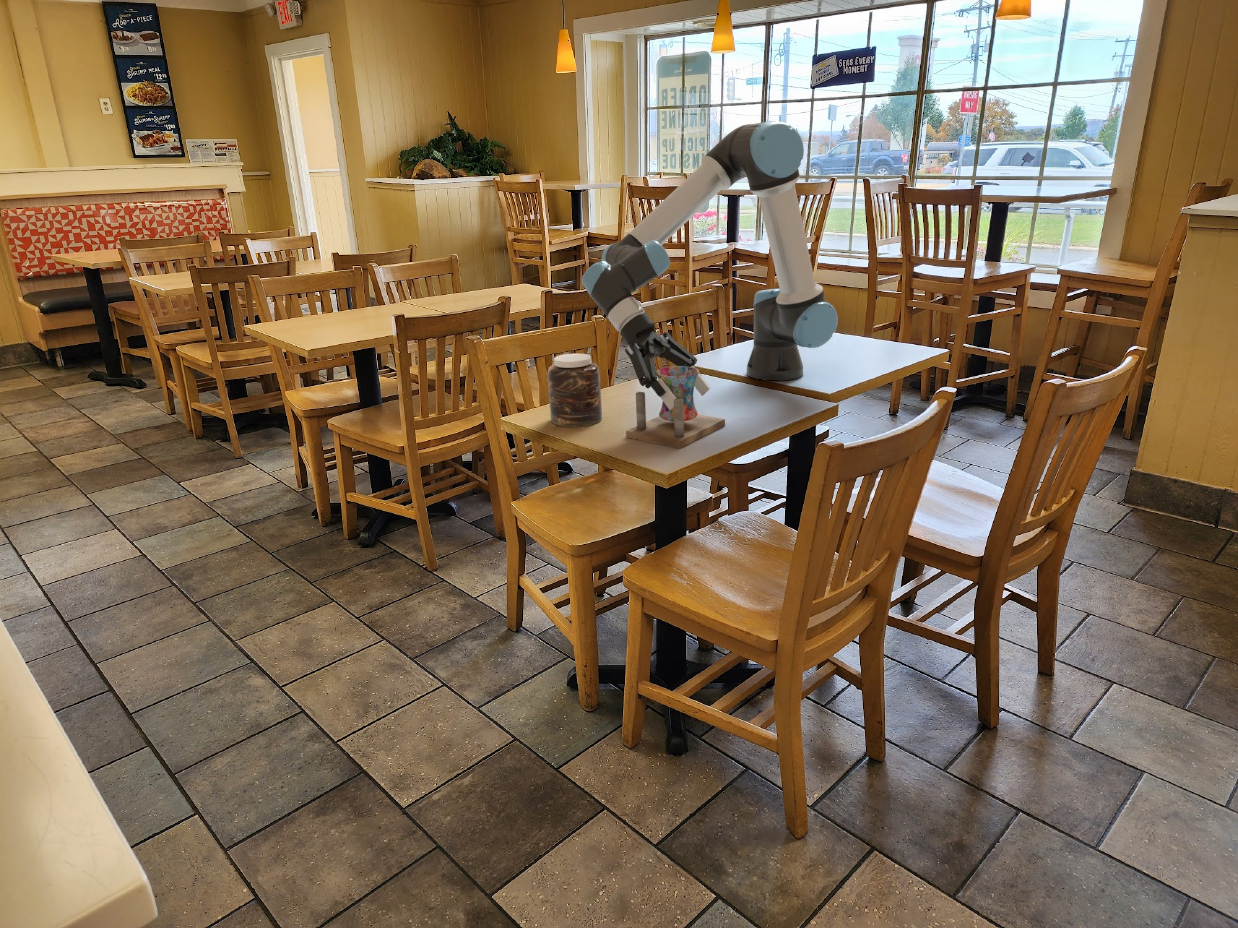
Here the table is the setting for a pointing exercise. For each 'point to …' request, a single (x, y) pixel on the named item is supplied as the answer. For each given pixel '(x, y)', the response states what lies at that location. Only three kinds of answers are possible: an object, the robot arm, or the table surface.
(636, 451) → the table surface
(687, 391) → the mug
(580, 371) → the jar
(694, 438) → the board
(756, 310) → the robot arm
